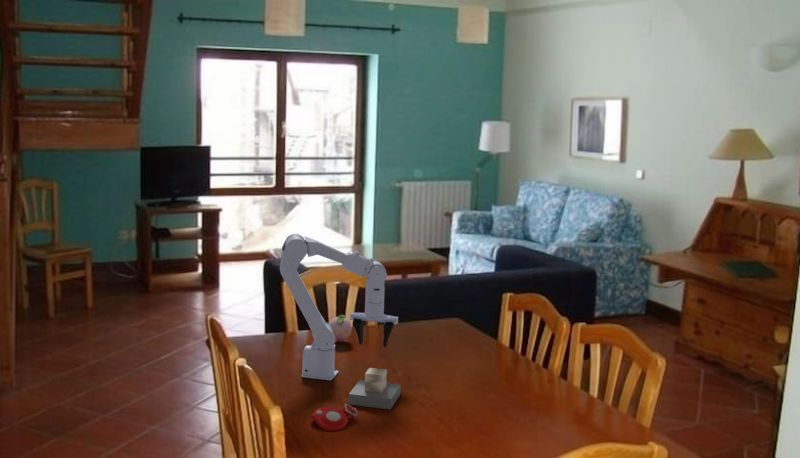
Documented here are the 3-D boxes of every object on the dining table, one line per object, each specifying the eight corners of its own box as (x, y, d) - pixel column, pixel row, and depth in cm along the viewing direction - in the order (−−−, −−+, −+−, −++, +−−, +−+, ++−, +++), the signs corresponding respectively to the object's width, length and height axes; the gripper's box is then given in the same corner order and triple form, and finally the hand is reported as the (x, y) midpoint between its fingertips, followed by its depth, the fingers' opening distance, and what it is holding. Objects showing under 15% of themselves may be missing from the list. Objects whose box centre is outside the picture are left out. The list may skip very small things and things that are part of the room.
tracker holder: (340, 431, 201) (306, 415, 204) (338, 444, 203) (304, 428, 206) (362, 405, 211) (329, 390, 214) (359, 418, 213) (327, 403, 216)
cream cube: (364, 390, 223) (365, 373, 222) (369, 384, 228) (369, 367, 227) (381, 392, 222) (382, 375, 221) (386, 386, 227) (386, 369, 226)
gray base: (348, 404, 221) (348, 393, 220) (360, 389, 232) (360, 379, 232) (390, 409, 218) (391, 398, 218) (400, 394, 230) (400, 384, 229)
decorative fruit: (327, 338, 281) (327, 310, 279) (350, 338, 282) (351, 310, 280) (327, 346, 272) (328, 317, 270) (351, 346, 273) (352, 317, 271)
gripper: (347, 302, 240) (346, 345, 242) (395, 306, 237) (393, 350, 239) (354, 296, 247) (353, 339, 249) (400, 301, 244) (398, 344, 246)
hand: (373, 344), depth 244 cm, fingers open, 7 cm apart
